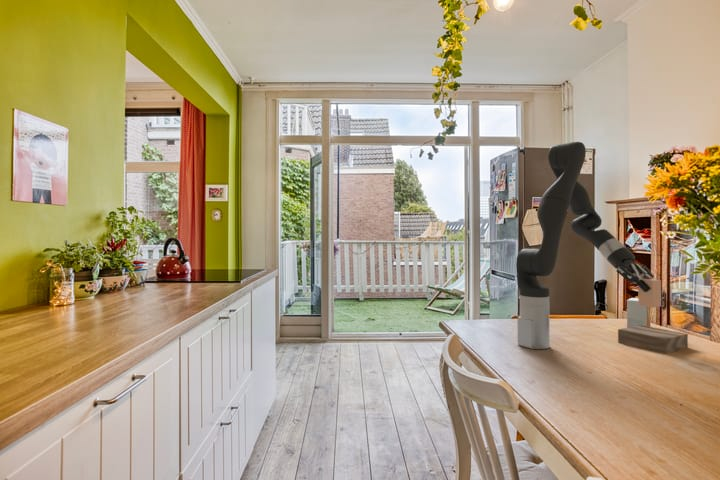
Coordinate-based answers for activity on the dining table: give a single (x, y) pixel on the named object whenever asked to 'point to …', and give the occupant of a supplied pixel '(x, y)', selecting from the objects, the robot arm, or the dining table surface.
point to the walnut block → (653, 338)
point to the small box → (637, 314)
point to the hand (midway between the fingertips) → (652, 289)
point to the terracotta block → (650, 294)
